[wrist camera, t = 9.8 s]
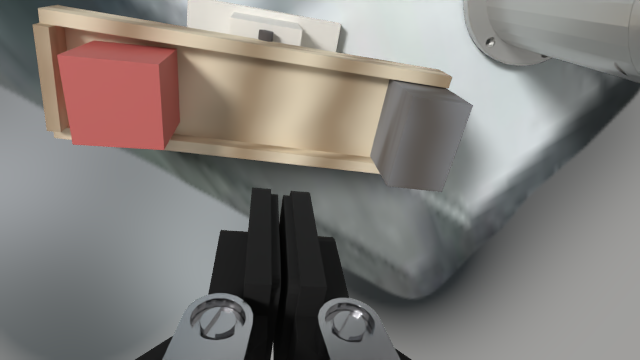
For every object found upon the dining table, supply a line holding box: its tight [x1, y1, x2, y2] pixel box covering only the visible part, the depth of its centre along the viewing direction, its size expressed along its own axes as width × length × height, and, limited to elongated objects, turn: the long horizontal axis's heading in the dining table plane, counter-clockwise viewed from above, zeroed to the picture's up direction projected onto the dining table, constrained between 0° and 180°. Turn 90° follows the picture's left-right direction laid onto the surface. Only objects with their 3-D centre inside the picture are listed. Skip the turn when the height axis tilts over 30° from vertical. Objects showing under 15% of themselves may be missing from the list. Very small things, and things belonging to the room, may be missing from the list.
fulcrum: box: [187, 0, 341, 52], centre depth 32 cm, size 12×11×5 cm
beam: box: [33, 5, 473, 192], centre depth 26 cm, size 26×9×7 cm, turn 80°
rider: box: [57, 41, 180, 150], centre depth 24 cm, size 5×5×5 cm
